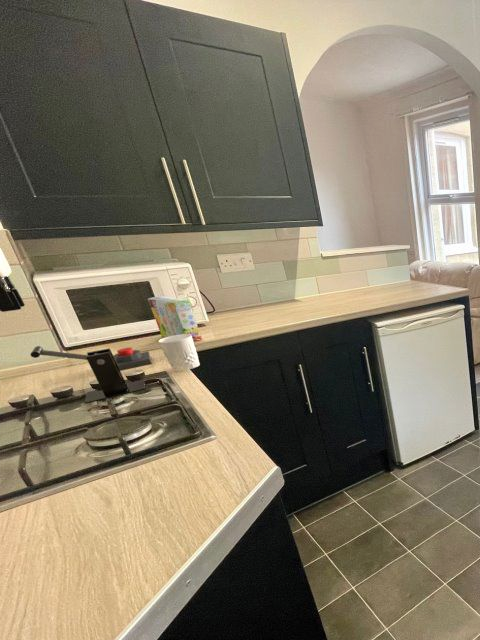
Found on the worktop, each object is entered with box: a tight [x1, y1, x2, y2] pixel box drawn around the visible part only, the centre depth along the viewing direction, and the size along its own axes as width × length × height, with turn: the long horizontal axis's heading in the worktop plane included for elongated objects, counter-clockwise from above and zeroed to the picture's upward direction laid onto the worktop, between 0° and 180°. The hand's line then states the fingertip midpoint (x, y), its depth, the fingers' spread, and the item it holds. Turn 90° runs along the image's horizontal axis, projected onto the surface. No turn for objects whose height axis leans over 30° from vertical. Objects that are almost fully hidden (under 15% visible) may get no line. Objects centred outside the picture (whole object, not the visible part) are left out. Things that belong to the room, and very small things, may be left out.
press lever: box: [30, 345, 100, 361], centre depth 104 cm, size 13×6×2 cm, turn 131°
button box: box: [113, 349, 153, 372], centre depth 131 cm, size 10×10×4 cm
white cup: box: [157, 334, 201, 372], centre depth 124 cm, size 8×8×10 cm
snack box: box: [147, 295, 203, 343], centre depth 155 cm, size 21×6×15 cm, turn 59°
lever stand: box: [84, 347, 147, 405], centre depth 109 cm, size 12×9×12 cm
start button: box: [117, 347, 134, 356], centre depth 130 cm, size 4×4×2 cm
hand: (13, 308), depth 95 cm, fingers open, 3 cm apart
